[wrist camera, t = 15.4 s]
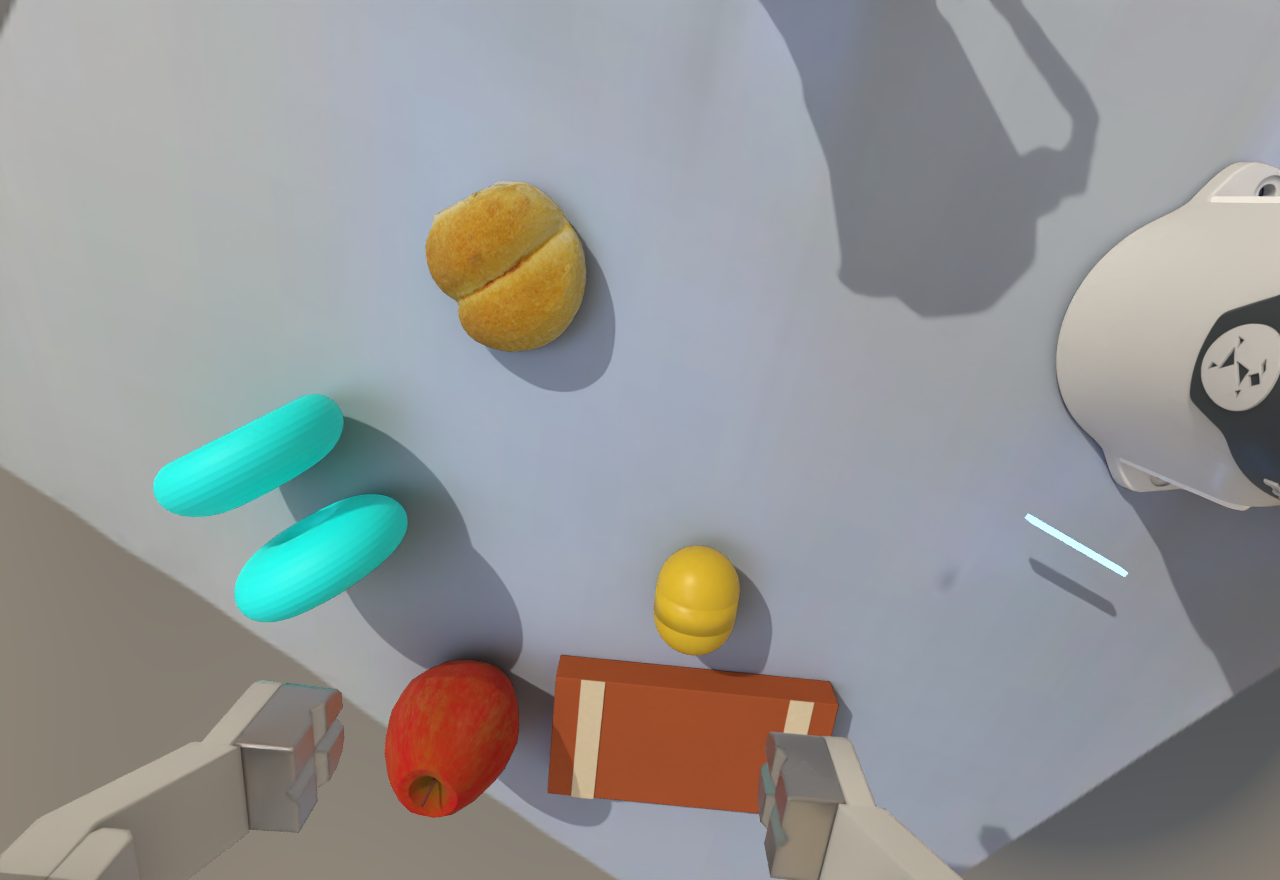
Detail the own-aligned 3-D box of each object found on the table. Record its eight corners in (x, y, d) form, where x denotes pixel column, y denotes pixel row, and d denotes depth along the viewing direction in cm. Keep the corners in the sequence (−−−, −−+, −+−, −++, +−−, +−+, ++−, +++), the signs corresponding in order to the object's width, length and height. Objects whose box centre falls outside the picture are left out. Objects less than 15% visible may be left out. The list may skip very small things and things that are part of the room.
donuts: (353, 370, 40) (261, 416, 31) (438, 507, 43) (377, 588, 34) (220, 436, 42) (94, 500, 32) (310, 565, 45) (218, 658, 35)
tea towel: (830, 681, 47) (839, 705, 44) (804, 791, 50) (812, 820, 48) (560, 654, 47) (555, 678, 44) (552, 767, 50) (547, 794, 47)
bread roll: (496, 368, 40) (480, 384, 36) (414, 231, 38) (387, 232, 34) (617, 304, 39) (613, 314, 35) (539, 157, 36) (525, 150, 33)
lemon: (647, 535, 42) (686, 577, 38) (718, 527, 44) (762, 566, 40) (635, 635, 44) (670, 685, 40) (703, 623, 46) (743, 669, 42)
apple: (504, 618, 46) (461, 732, 36) (549, 711, 48) (520, 844, 38) (396, 650, 47) (325, 771, 37) (446, 740, 49) (391, 877, 39)
